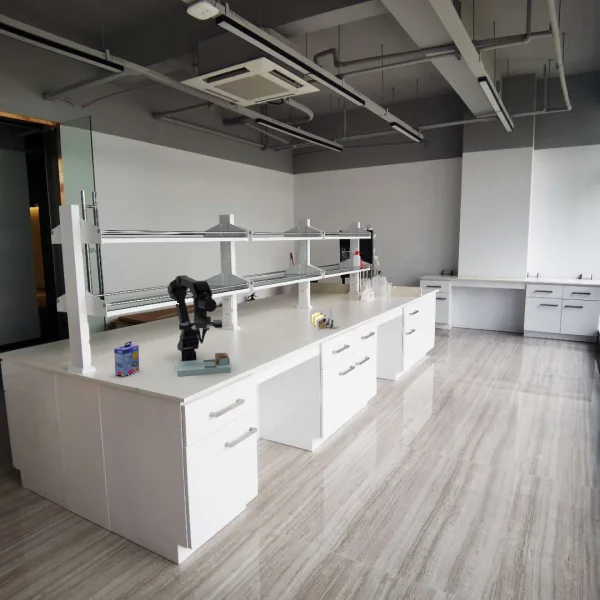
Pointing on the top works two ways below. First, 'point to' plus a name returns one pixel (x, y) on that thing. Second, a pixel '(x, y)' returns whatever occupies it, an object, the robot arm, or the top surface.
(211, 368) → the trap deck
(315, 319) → the diorama
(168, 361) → the top surface
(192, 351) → the robot arm
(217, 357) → the walnut block
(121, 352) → the ink cartridge box
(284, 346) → the top surface
